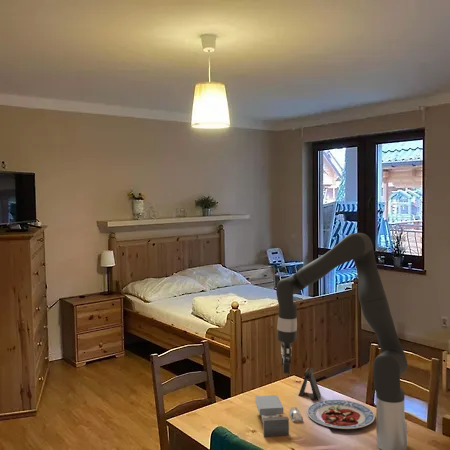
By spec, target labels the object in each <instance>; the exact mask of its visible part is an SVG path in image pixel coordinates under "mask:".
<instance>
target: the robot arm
mask: <svg viewBox="0 0 450 450" xmlns="http://www.w3.org/2000/svg"><path fill="white" fill-rule="evenodd" d="M373 244H374V243H373V242H372V240H371V238H370V236H369V235H367V234H366V233H363V232H354V233H350V234H347V235H346V236H345V237H344V238H343V239H341V240H340V241H339V242H338V243H336V245H335V246H333V247H332V248H331V249H330V250H328V251H327V252H326V253H324V254H322V255H320V256H319V257H318V258H316V259H314V260H313V261H311V262H309V263H307V264H306V265H304V266H302V267H301V268H299V270H297V272H295V273H294V274H292V275H289V276H288V277H283V278H281V279H280V280H279V281H278V282H277V284H276V290H275V291H276V293H275V294H276V298H277V303H278V319H277V324H276V325H277V327H276V329H277V331H276V340H277V341H278V342H280V353H281V365H282V366H283V373H284V374H290V369H291V367H290V365H291V364H292V351H293V346H292V343H295V342H297V335H298V333H297V332H298V330H297V329H298V321H297V318H298V317H297V316H298V314H297V313H298V307H297V303H296V302H294V295H295V294H298V293H299V292H301V291H303V290H304V289H305V288H306V287H308V286H310V285H312V284H314V283H316V282H318V281H319V280H320V279H322V278H323V277H325V276H326V275H328V274H329V273H330V272H331V271H333V270H335V268H337V267H338V266H341V265H342V264H345V263H349V262H350V261H353V262H354V266H355V268H356V271H357V278H358V279H357V283H358V284H357V289H358V290H357V291H358V300H359V304H360V308H361V311H362V314H363V317H364V319H365V321H366V322H367V323H368V325H369V326H370V328H371V329H372V330H373V332H374V334H375V336H376V338H377V341H378V345H379V348H380V354H378V355H377V356H376V357H374V361H373V366H372V369H373V370H372V372H373V375H372V376H373V388H374V391H375V394H376V395H375V397H376V398H375V399H376V400H375V401H376V404H375V405H376V406H375V407H376V410H375V411H376V414H375V418H376V421H375V422H376V423H375V424H376V429H375V430H376V447H377V448H378V449H379V450H408V423H407V421H406V419H405V413H406V412H405V390H404V389H403V388H402V387H401V376H402V375H404V373H405V372H406V371H407V369H408V360H407V356H406V354H405V351H404V349H403V346H402V343H401V341H400V339H399V337H398V334H397V330H396V326H395V323H394V322H395V321H394V320H393V317H392V313H391V309H390V305H389V301H388V297H387V295H386V292H385V289H384V285H383V283H382V279H381V275H380V273H379V270H378V266H377V262H376V256H375V251H374V245H373Z"/></svg>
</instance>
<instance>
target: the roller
mask: <svg viewBox="0 0 450 450" xmlns="http://www.w3.org/2000/svg"><path fill="white" fill-rule="evenodd" d="M288 414H289V417H290V418H291V420H292V423H299V422H303V420H304V419H303V418H304V417H303V415H302V414H301V412H300V409H299V408H298V407H296V406H293V407H290V409H289V410H288Z"/></svg>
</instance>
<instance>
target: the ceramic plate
mask: <svg viewBox="0 0 450 450" xmlns="http://www.w3.org/2000/svg"><path fill="white" fill-rule="evenodd" d="M306 412H307V415H308V416H307V417H309V418H310V419H311V420H312V421H313V422H315V423H317V424H319V425H321V426H324V427H325V426H326V427H328V428H333V429H340V430H354V429H360V428H364V427H367V426H369V425H371V424H372V423H373V422H374V421H375V418H376V414H375V413H374V411H373V410H372V409H371V408H369V407H368V406H366V405H364V404H362V403H358V402H355V401H351V400H345V399H326V400H321V401H317V402H314V403H313V404H311V405H310V406H309V407H308V409H307V411H306ZM317 412H318V413H319V415H320V418H321V419H322V420H321V419H319V417H318V416H317Z"/></svg>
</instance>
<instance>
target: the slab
mask: <svg viewBox="0 0 450 450" xmlns="http://www.w3.org/2000/svg"><path fill="white" fill-rule="evenodd" d="M254 402H255V405H256V408H257V411H258V414H259V416H260V415H276V414H280V415H284V406H283V404H282V402H281V399H280V398H279V395H278V394H275V395H273V394H272V395H271V394H270V395H256V396H255V397H254Z"/></svg>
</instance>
